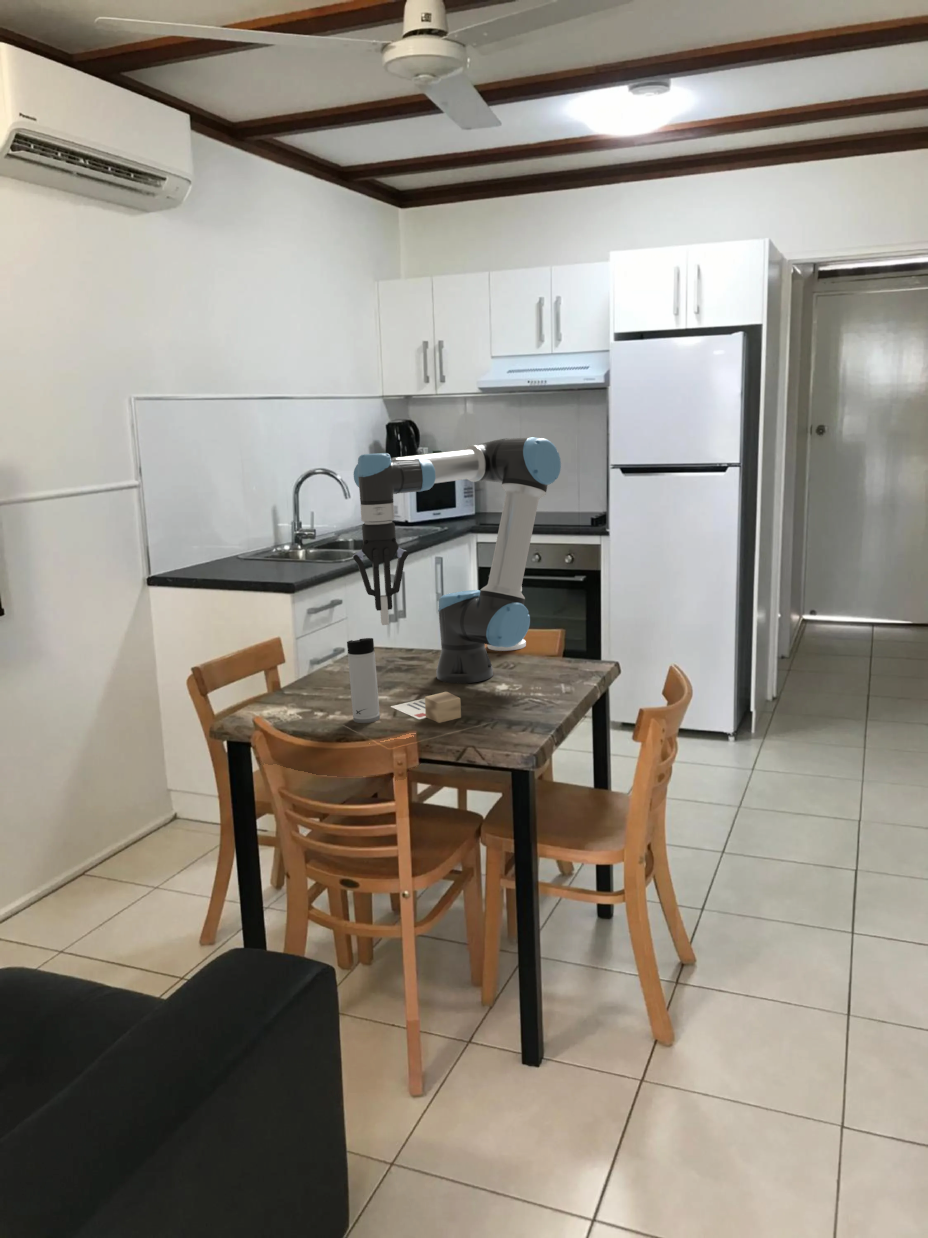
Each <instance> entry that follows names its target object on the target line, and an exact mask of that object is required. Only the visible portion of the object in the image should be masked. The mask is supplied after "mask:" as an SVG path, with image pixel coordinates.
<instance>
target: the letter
mask: <svg viewBox="0 0 928 1238" xmlns="http://www.w3.org/2000/svg"><path fill="white" fill-rule="evenodd" d="M390 708H392V709H395V710H396V711H399V712H402V713H404V714H406V715H408V716H411V717H412V718H415V719H417V720H423V719H426V718H427V717H426V711H425V697H424V698H421V699H416V700H412V701H408V702H404V703H399V704H395V705H391V706H390ZM427 719H428V718H427Z"/></svg>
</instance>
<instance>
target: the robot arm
mask: <svg viewBox="0 0 928 1238" xmlns="http://www.w3.org/2000/svg"><path fill="white" fill-rule="evenodd" d="M561 466H562V463H561V457H560V453H559V452H558V449H557V447H556V445H555V444H554V443H553V442H552V441H550V440H549V439H547V438H543V437H541V438H540V437H536V436H535V437H534V436H531V437H520V438H517V437H516V438H515V437H513V438H500V439H495V440H491V441H487V442H482V443H477V444H470V445H469V444H468V445H467V446H465V447H464V448H463V449H460V450H449V451H443V452H442V451H441V452H433V453H432V452H431V453H424V454H423V453H421V454H414V455H406V456H405V455H404V456H396V457H391V454H389V453H388V452H381V453H380V452H379V453H377V452H376V453H363V454H361V455H360V456H359V457H358V459H357V464H356V465H355V467H354V470H353V481H354V483H355V485H356V487H357V488H358V489H359V501H360V516H361V517H360V518H361V519H360V520H361V522H363V523H362V525H361V530H362V531H361V533H362V545H361V546H360V550H359V551H357V552H356V553H354V554H353V553H352V559H353V560H354V561H355V563H356V564H357V566H358V570H359V572H360V576H361V580H362V582H363V585H364V586H363V587H364V588H365V590H366V591H365V592H366V594H368V595H369V596H373V597H374V603H375V604H374V605H375V609H376V611H380V623H381V625H382V626H389V625H390V620H389V619H390V618H389V610H392V609H393V595H395V594H398V593H399V592H400V589H401V582H402V577H403V573H404V572H403V571H404V566H405V561H406V559H407V558H408V555H409V552H408V551H407V550H406V549H402V548H401V547H399V543H398V541H397V537H396V534H397V533H396V524H395V522H393V521H394V520H395V509H394V502H395V501H394V495H397V494H405V493H417V492H418V493H421V492H423V491H428V490H429V491H430V489H431V488H433V486H434V485H435V484H440V483H447V482H455V481H462V480H467V481H469V482H472V483H476V482H490V483H491V482H493V483H501V488H502V490H504V493H505V497H504V501H503V507H502V512H501V517H500V522H499V527H498V532H497V536H496V542H495V547H494V552H493V556H492V562H491V567H490V572H489V577H488V581H487V584H486V585H485V586H483V587H482V588H481V589H480V590H479V589H472V590H461V591H456V592H452V593H451V592H449V593H446V594H442V596H440V598H439V599H438V610H437V612H438V621H439V623H438V624H439V632H440V646H441V650H440V654H439V655H440V656H439V658H438V662H437V666H436V679H437V680H439V681H441V682H444V683H449V684H471V683H478V682H482V681H483V682H484V681H486V680H489V679H490V678H492V677H493V675H494V673H493V672H494V671H493V668H494V667H493V665H492V662H491V660H490V657H489V655H488V653H487V648H486V645H487V644H488V645H492V646H495V647H512V646H515V645H517V644H518V642H520V641H521V640H522V639H524V638H525V637H526V635H527V633H528V631H529V628H530V625H531V615H530V614H529V612H530V611H529V609H528V608H527V606H525V601H526V597H525V596H524V595H523V593H522V591H521V586H523V585H522V584H523V580H524V575H525V570H526V565H527V560H528V555H529V550H530V545H531V539H532V536H533V530H534V526H535V519H536V515H537V510H538V506H539V500H540V499H542V498H543V497H545V496H546V495H547V490H548V487H549V486H548V485H551V484H553V483H555V482H556V480H557V479H558V478H559V476H560V473H561V470H562V469H561V468H562V467H561ZM396 553H397V554H396ZM395 555H396V556H397V558H398V559H397V563H396V569H395V575H394V579H393V584H392V576H391V562H392V560H393V558H394V557H395ZM364 556H365V557H366V558H367V559H368V560H369V562H371V565H372V579H373V580H372V581H373V589H372V586H371V582H370V579H369V576H368V574H367V571H366V568H365V564H364V562H363V561H364V559H365V558H364ZM381 563H382V564H383V565H382V566H383V575H384V593H385V594H383V595H381V581H380V579H381V578H380V577H381V576H380V564H381ZM392 585H393V586H392Z"/></svg>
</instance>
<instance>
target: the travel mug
mask: <svg viewBox="0 0 928 1238" xmlns="http://www.w3.org/2000/svg"><path fill="white" fill-rule="evenodd" d="M374 642H375V641H374V638H372V637H366V638H365V637H364V638H363V637H362V638H359V639H356V640H352V639H351V640H348V641H346V646H347V661H348V663H347V664H348V673H349V685H350V686H349V687H350V695H351V696H350V697H351V707H352V718H353V719H352V720H353V722H354V723H359V724H369V723H374V722H376V721H378V720H380V718H381V714H380V702H379V693H378V692H379V690H378V678H377V677H378V676H377V665H376V664H377V663H376V654H375V644H374Z"/></svg>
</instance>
